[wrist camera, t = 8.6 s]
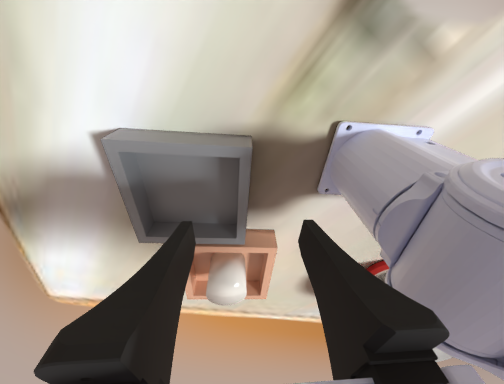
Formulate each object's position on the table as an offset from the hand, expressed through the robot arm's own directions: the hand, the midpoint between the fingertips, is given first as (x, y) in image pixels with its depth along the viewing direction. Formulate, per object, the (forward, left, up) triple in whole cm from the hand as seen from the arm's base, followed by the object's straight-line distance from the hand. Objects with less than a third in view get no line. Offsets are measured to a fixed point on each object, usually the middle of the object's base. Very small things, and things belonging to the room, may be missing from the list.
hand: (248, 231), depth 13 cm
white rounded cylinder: (+2, +15, -9) cm, 17 cm away
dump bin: (+2, +15, -9) cm, 18 cm away
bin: (+6, +3, -9) cm, 11 cm away
